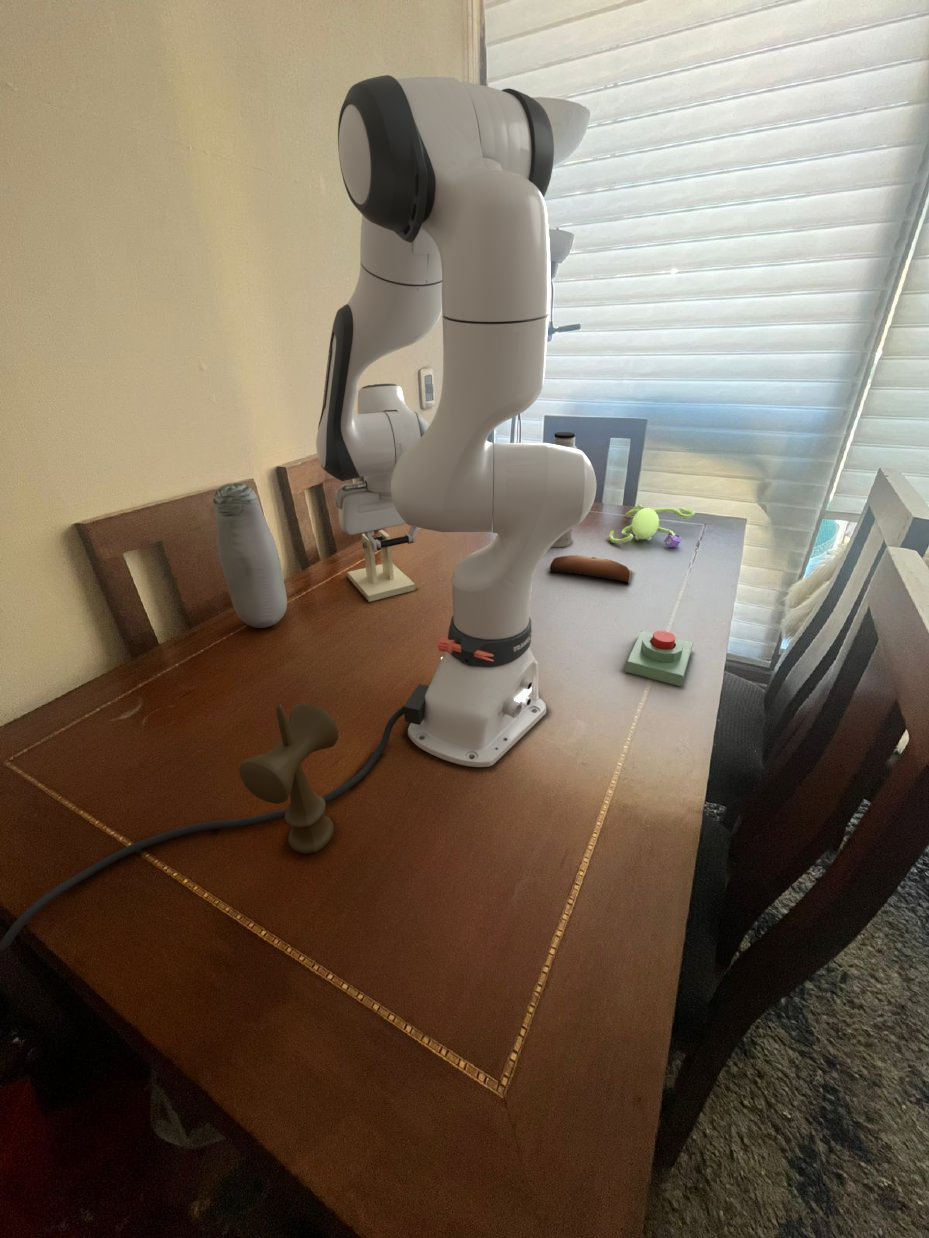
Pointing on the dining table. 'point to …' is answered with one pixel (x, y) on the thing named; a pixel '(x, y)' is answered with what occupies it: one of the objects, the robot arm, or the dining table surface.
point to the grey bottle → (249, 557)
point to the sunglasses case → (591, 567)
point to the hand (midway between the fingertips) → (393, 546)
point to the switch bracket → (379, 574)
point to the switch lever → (391, 541)
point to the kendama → (295, 775)
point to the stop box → (659, 660)
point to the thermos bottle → (568, 441)
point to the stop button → (663, 640)
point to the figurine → (650, 525)
